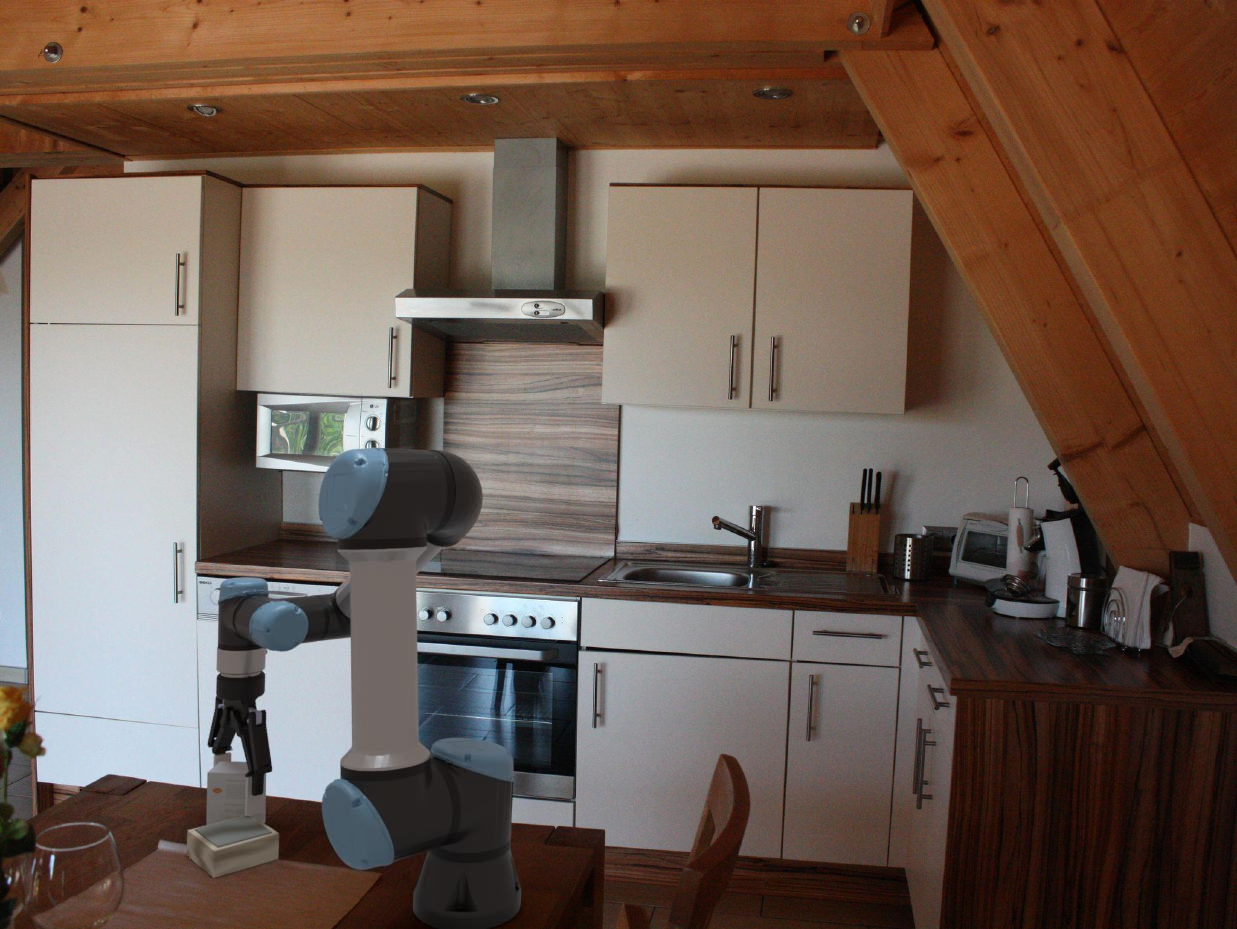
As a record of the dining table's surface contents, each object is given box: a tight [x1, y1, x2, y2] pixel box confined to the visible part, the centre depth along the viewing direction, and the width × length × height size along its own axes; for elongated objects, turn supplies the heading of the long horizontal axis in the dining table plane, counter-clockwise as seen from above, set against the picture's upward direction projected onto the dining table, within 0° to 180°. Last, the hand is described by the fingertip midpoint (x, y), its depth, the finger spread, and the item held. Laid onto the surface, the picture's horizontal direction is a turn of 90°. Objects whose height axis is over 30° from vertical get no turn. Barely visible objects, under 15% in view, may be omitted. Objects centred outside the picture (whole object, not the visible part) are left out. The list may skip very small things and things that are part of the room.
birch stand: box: [186, 815, 280, 879], centre depth 149 cm, size 10×10×4 cm
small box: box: [205, 760, 267, 826], centre depth 160 cm, size 8×6×10 cm
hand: (237, 802), depth 160 cm, fingers open, 12 cm apart
